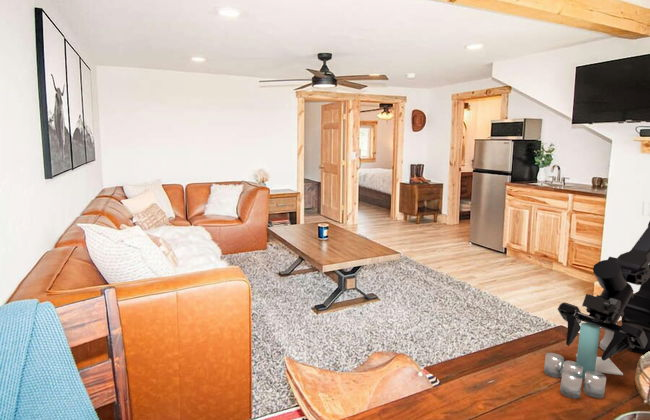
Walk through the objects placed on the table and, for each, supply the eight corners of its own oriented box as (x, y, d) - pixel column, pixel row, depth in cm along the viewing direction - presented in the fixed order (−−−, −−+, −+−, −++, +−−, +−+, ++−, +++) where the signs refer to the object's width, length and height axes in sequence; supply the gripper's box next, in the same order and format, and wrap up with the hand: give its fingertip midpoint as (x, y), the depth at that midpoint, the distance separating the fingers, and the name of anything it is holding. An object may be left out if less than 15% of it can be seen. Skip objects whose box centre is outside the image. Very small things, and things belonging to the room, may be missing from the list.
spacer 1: (559, 370, 103) (560, 353, 102) (564, 378, 99) (566, 361, 99) (541, 368, 104) (543, 351, 103) (546, 376, 100) (548, 359, 100)
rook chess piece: (612, 346, 117) (615, 319, 115) (621, 353, 112) (625, 326, 111) (595, 345, 117) (599, 318, 116) (604, 352, 113) (608, 325, 111)
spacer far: (576, 389, 95) (578, 372, 94) (583, 400, 91) (585, 381, 90) (557, 387, 96) (559, 369, 95) (563, 397, 92) (565, 378, 91)
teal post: (590, 372, 102) (596, 323, 100) (596, 380, 99) (603, 330, 97) (572, 370, 103) (578, 321, 101) (578, 378, 100) (584, 328, 98)
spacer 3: (599, 389, 95) (601, 371, 94) (607, 399, 91) (609, 381, 91) (580, 386, 96) (582, 369, 95) (587, 396, 92) (589, 378, 92)
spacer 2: (577, 378, 99) (579, 361, 99) (583, 388, 96) (585, 370, 95) (559, 376, 100) (561, 359, 100) (564, 385, 96) (566, 368, 96)
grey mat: (608, 359, 109) (608, 358, 109) (622, 375, 101) (623, 373, 101) (575, 355, 111) (575, 354, 111) (587, 370, 103) (587, 369, 103)
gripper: (565, 272, 107) (536, 320, 103) (649, 295, 92) (618, 352, 88) (578, 296, 113) (551, 342, 109) (659, 321, 97) (631, 376, 93)
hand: (584, 351), depth 99 cm, fingers open, 8 cm apart
